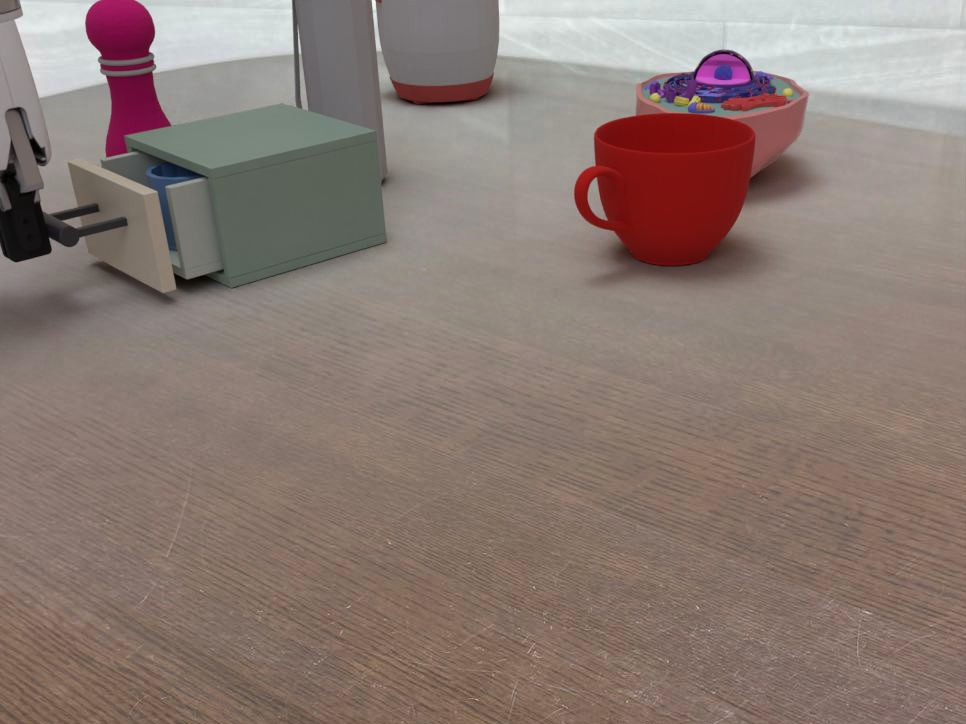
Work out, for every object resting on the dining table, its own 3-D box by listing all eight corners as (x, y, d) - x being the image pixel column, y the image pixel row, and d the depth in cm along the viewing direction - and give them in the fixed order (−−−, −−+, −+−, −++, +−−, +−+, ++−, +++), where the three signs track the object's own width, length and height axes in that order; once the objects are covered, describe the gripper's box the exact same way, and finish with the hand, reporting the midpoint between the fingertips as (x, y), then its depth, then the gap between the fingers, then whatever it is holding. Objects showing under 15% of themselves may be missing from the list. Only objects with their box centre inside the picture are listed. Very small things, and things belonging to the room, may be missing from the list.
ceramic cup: (526, 263, 101) (523, 141, 95) (669, 218, 110) (673, 105, 104) (634, 305, 92) (636, 174, 87) (779, 253, 101) (790, 131, 96)
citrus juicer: (364, 86, 159) (347, -84, 148) (494, 78, 161) (487, -90, 150) (372, 114, 146) (354, -70, 135) (513, 105, 148) (507, -77, 137)
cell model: (609, 199, 115) (610, 74, 109) (654, 145, 131) (658, 34, 125) (787, 211, 111) (799, 83, 105) (812, 154, 127) (823, 40, 121)
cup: (180, 256, 98) (166, 182, 95) (147, 240, 102) (133, 168, 98) (242, 239, 101) (230, 167, 98) (208, 224, 105) (195, 155, 102)
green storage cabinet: (231, 288, 97) (211, 168, 92) (146, 246, 106) (123, 135, 101) (386, 242, 106) (376, 130, 101) (296, 207, 115) (282, 103, 110)
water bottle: (403, 175, 123) (380, -100, 110) (363, 196, 117) (333, -91, 104) (328, 166, 127) (296, -101, 113) (285, 187, 121) (246, -93, 107)
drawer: (95, 313, 91) (71, 211, 87) (23, 270, 99) (-2, 175, 95) (318, 248, 102) (307, 155, 98) (237, 214, 111) (223, 127, 106)
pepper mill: (172, 186, 122) (132, -30, 111) (205, 202, 117) (166, -23, 106) (104, 201, 118) (55, -22, 107) (134, 218, 113) (87, -14, 103)
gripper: (-132, -7, 85) (-56, 245, 95) (-57, 16, 76) (19, 293, 86) (-26, -20, 89) (36, 223, 99) (58, 1, 80) (117, 267, 90)
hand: (28, 255), depth 92 cm, fingers closed
